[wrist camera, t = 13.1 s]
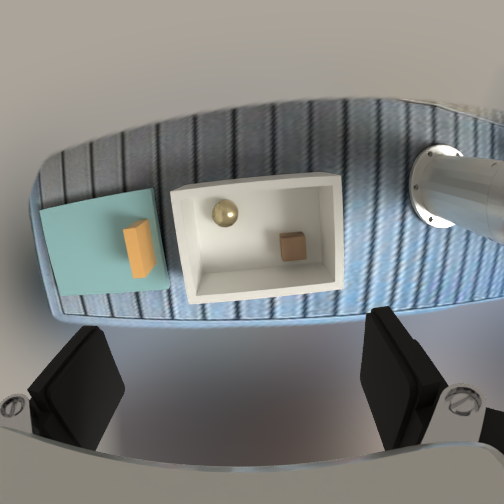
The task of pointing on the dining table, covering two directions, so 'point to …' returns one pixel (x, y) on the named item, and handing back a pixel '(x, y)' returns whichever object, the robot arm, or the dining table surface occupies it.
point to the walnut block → (293, 246)
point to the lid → (106, 244)
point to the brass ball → (225, 213)
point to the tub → (260, 236)
